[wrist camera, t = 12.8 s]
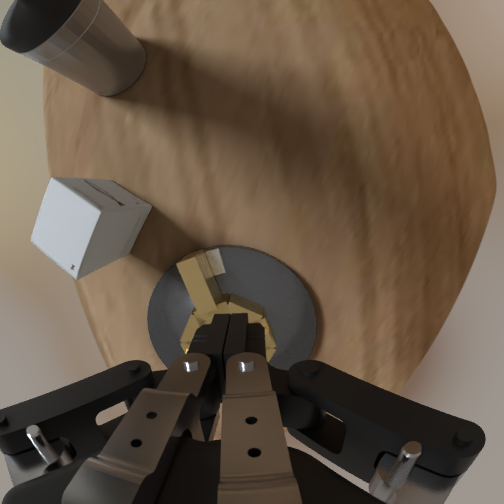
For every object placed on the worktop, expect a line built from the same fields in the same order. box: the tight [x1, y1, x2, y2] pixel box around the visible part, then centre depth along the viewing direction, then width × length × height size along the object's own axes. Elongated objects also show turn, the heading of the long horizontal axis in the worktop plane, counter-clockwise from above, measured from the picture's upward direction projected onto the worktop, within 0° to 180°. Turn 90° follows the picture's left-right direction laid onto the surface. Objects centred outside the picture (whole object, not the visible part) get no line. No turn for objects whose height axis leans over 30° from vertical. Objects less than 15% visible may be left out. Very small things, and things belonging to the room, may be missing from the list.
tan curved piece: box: [176, 249, 276, 362], centre depth 32 cm, size 16×11×4 cm, turn 20°
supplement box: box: [31, 177, 152, 280], centre depth 27 cm, size 7×7×13 cm
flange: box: [147, 245, 317, 370], centre depth 33 cm, size 22×22×7 cm
